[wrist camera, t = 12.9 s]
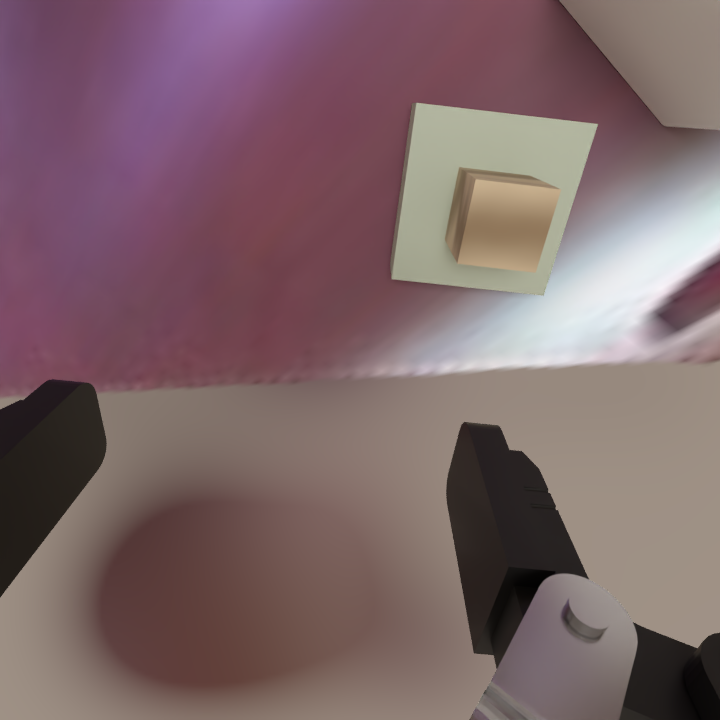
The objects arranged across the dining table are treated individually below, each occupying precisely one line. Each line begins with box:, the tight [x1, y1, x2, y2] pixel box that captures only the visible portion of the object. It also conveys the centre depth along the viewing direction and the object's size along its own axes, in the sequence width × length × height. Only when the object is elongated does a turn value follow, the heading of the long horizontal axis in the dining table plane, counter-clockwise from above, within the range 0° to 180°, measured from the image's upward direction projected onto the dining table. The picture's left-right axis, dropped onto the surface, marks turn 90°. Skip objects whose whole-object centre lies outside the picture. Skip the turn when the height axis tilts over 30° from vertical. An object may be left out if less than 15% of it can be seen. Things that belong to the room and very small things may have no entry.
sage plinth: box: [390, 103, 598, 296], centre depth 34 cm, size 12×12×4 cm
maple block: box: [445, 167, 561, 273], centre depth 30 cm, size 5×5×6 cm
